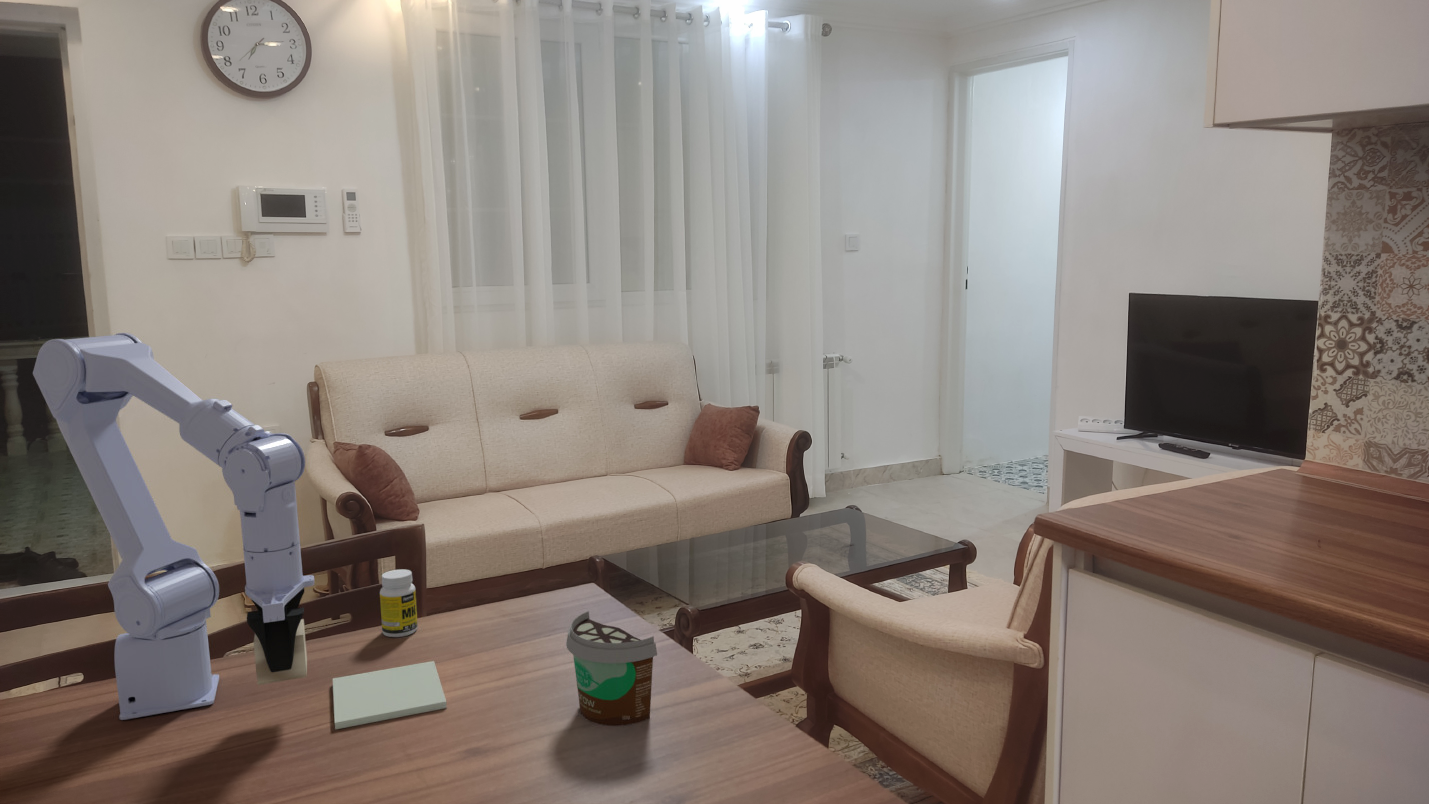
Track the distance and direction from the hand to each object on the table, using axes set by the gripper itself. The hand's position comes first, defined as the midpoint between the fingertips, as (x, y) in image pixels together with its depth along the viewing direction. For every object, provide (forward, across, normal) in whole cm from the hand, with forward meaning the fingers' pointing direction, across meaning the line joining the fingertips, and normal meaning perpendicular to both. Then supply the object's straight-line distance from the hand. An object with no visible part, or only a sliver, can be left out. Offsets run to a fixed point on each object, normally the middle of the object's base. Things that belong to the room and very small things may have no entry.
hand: (282, 659), depth 105 cm
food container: (+7, -15, -33) cm, 37 cm away
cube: (+1, 0, 0) cm, 1 cm away
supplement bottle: (+7, +20, -14) cm, 25 cm away
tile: (+7, 0, -11) cm, 13 cm away
